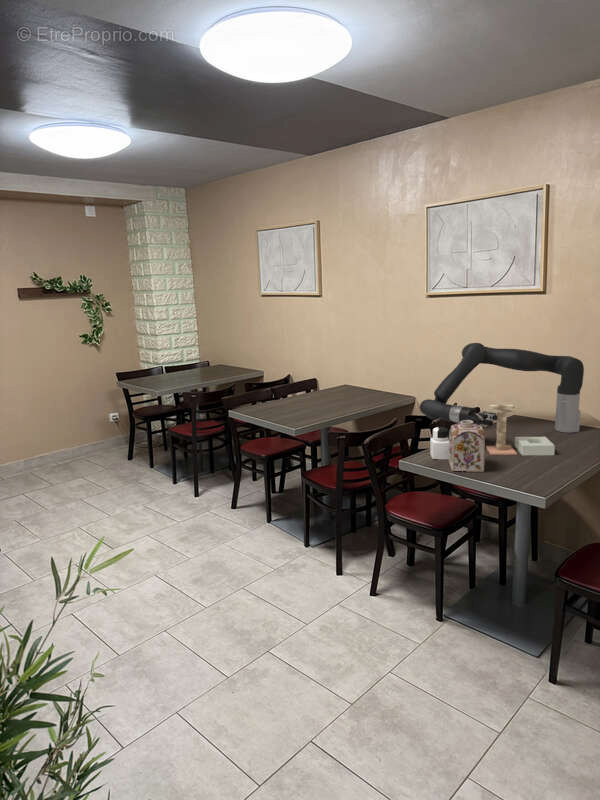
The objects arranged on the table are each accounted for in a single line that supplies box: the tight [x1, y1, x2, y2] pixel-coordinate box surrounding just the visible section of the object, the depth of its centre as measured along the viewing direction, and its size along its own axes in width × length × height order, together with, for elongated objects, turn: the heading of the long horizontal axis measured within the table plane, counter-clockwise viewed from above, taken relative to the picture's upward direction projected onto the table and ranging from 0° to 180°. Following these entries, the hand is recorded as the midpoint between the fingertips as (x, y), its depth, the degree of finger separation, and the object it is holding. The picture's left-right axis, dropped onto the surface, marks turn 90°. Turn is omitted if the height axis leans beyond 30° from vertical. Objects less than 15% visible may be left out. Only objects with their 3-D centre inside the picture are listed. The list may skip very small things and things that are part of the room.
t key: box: [489, 404, 515, 451], centre depth 225 cm, size 9×3×18 cm, turn 83°
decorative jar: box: [448, 420, 486, 473], centre depth 208 cm, size 12×12×18 cm
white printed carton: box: [429, 426, 449, 460], centre depth 222 cm, size 7×7×12 cm
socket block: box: [514, 436, 556, 456], centre depth 225 cm, size 12×12×4 cm
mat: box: [485, 445, 517, 456], centre depth 227 cm, size 10×10×1 cm
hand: (498, 421), depth 225 cm, fingers open, 8 cm apart
